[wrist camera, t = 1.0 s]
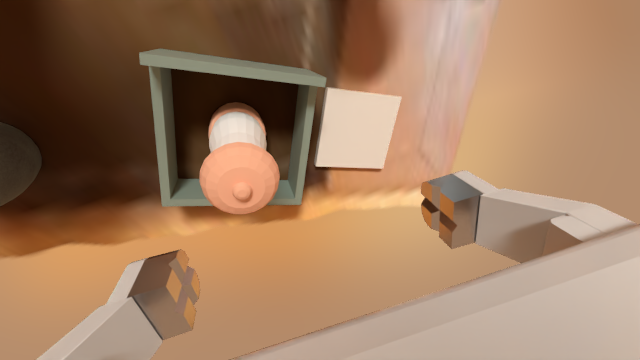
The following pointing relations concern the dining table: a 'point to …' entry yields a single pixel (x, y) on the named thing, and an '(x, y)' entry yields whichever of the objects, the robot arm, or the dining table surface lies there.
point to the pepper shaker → (238, 161)
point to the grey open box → (164, 60)
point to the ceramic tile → (355, 128)
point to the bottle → (16, 162)
